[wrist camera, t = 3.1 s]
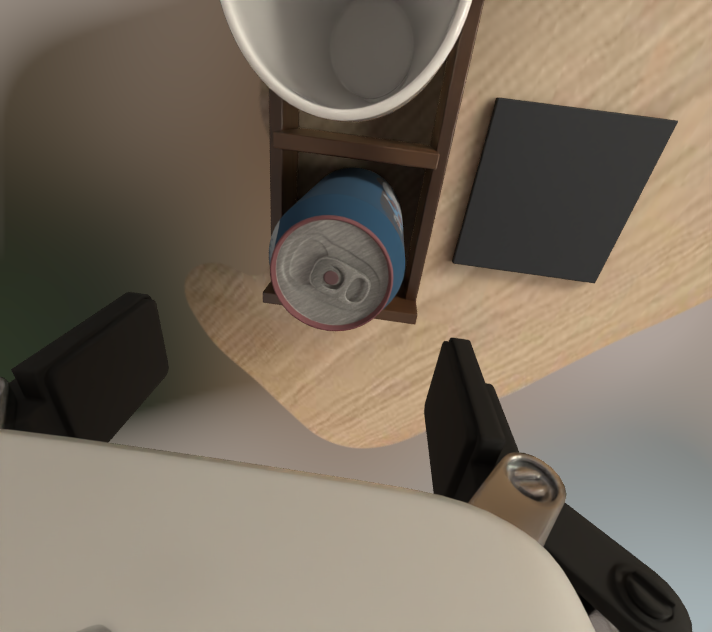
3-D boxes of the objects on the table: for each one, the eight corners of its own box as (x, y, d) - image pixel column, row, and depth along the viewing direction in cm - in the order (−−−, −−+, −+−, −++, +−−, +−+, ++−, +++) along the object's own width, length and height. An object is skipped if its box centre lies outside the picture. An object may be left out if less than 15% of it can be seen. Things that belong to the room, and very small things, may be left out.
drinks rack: (485, -57, 18) (521, -123, 13) (411, 287, 29) (415, 324, 24) (289, -80, 19) (249, -154, 14) (285, 269, 29) (262, 302, 24)
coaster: (673, 120, 22) (678, 120, 21) (591, 280, 27) (595, 283, 27) (496, 97, 22) (498, 97, 21) (451, 261, 27) (452, 263, 27)
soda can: (296, 231, 27) (237, 302, 17) (334, 145, 24) (289, 169, 14) (373, 272, 29) (361, 362, 18) (419, 195, 25) (437, 252, 15)
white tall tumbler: (397, 136, 23) (401, 165, 10) (303, 88, 22) (182, 55, 10) (451, 16, 20) (555, -159, 7) (343, -47, 19) (241, -374, 6)
